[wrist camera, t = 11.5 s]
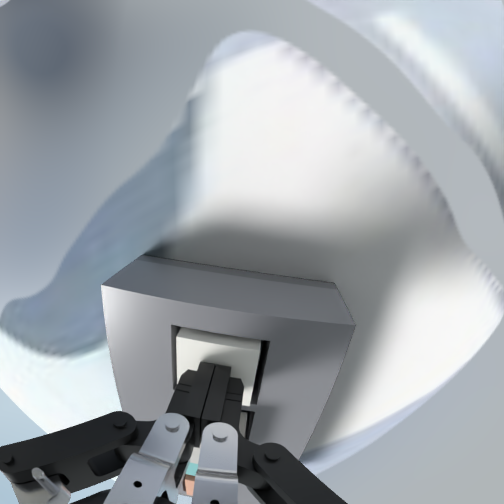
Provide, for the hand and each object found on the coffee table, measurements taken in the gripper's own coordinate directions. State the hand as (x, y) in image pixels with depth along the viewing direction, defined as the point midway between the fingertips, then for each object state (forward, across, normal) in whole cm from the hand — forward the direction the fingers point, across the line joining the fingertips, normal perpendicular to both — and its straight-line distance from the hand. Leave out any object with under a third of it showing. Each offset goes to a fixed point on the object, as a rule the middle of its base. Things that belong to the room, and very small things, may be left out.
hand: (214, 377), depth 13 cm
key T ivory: (+4, 0, 0) cm, 4 cm away
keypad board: (+6, 0, +7) cm, 9 cm away
